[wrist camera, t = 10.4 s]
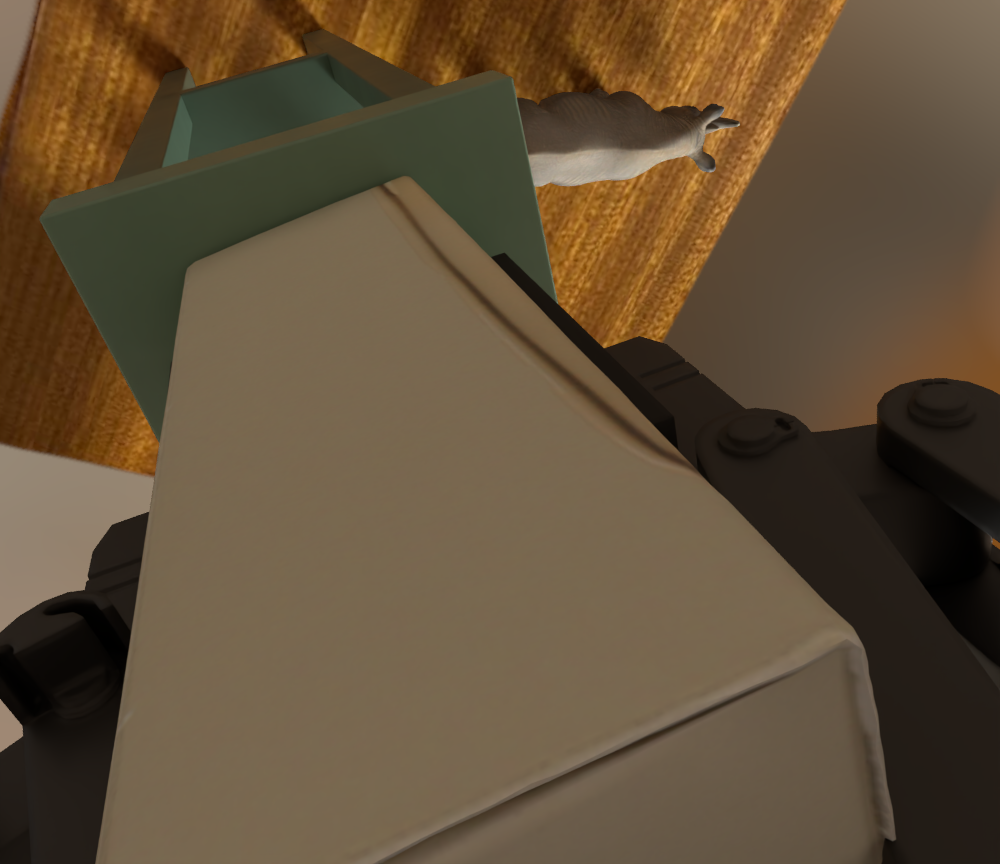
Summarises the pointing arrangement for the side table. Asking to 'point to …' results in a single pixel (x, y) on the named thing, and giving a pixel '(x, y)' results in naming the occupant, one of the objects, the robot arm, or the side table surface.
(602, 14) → the side table surface
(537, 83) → the side table surface
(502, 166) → the green square board
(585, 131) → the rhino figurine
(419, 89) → the stand
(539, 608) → the cosmetic box
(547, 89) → the side table surface
